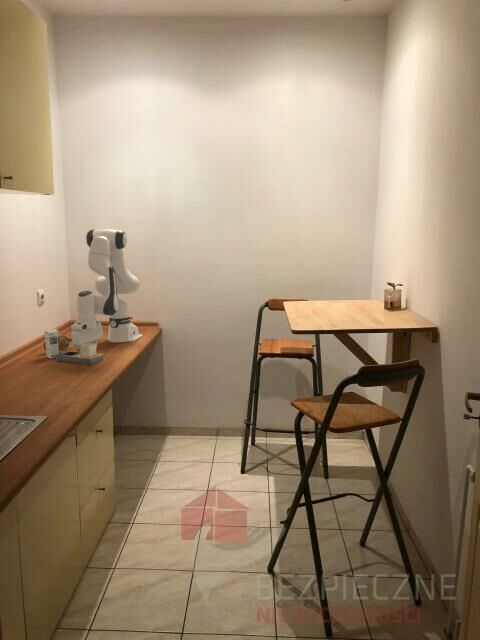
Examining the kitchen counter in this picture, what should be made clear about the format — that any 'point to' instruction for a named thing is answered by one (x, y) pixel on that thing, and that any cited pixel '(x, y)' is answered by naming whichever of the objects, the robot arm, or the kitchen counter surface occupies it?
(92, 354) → the square peg
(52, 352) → the syrup box
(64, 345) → the tin
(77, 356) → the socket rail
